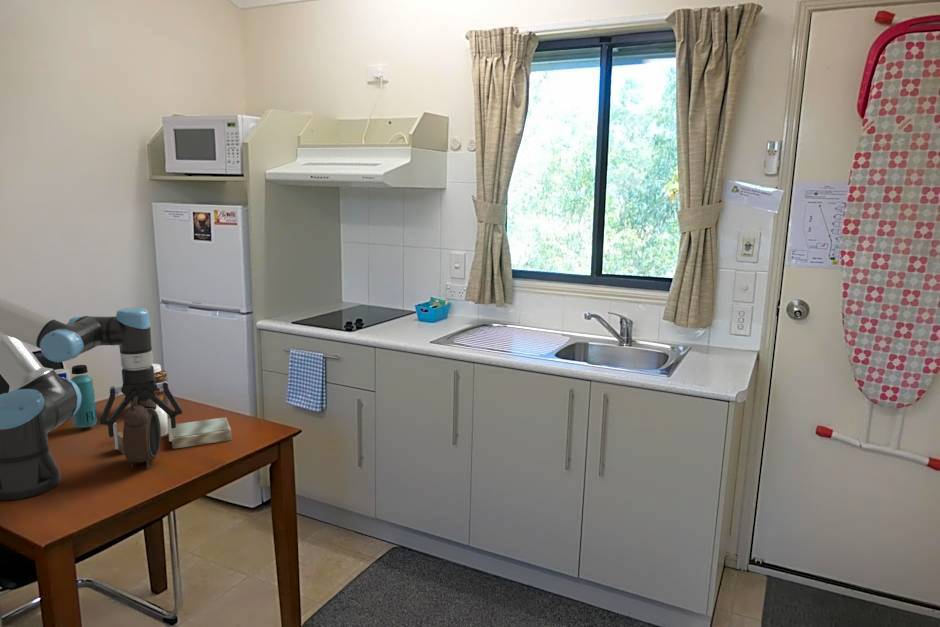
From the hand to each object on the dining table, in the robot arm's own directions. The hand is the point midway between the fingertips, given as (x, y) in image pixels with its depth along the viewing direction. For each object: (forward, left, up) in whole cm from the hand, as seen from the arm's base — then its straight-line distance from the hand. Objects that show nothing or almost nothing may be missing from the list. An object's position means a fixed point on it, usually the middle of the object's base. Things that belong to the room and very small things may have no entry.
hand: (144, 443), depth 175 cm
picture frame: (+15, +13, -5) cm, 21 cm away
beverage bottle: (-16, +35, -6) cm, 39 cm away
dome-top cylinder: (+3, +22, -6) cm, 23 cm away
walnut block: (-4, +12, -6) cm, 14 cm away
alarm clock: (0, 0, -6) cm, 6 cm away
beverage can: (-23, +51, -6) cm, 56 cm away
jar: (+2, +45, -6) cm, 45 cm away
